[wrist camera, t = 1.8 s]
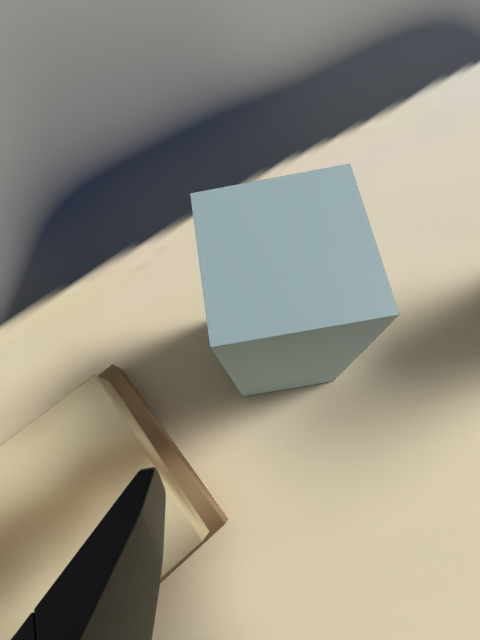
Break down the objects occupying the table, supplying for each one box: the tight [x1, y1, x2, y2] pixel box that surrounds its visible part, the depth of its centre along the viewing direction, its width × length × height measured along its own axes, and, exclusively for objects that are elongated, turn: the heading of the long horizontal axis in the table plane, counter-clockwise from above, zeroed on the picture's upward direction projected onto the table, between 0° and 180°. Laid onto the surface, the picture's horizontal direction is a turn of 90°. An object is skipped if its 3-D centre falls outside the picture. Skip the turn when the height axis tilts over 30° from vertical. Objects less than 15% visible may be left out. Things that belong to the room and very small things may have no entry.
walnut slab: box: [98, 365, 228, 583], centre depth 20 cm, size 11×11×2 cm
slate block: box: [190, 164, 399, 396], centre depth 17 cm, size 6×6×12 cm
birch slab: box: [0, 375, 209, 640], centre depth 18 cm, size 10×10×2 cm
